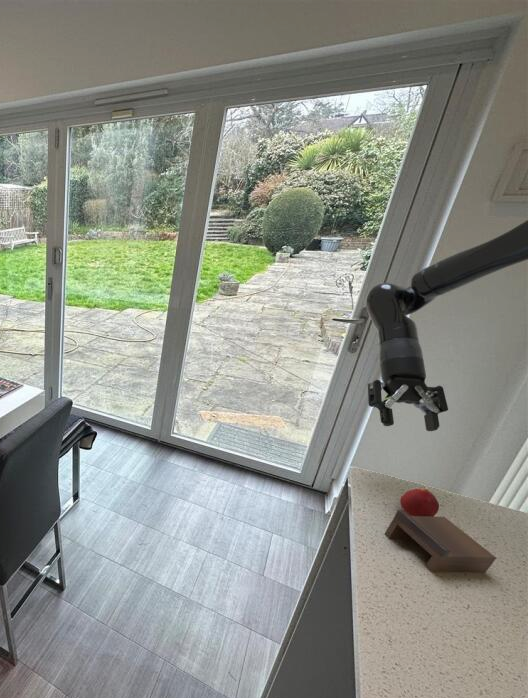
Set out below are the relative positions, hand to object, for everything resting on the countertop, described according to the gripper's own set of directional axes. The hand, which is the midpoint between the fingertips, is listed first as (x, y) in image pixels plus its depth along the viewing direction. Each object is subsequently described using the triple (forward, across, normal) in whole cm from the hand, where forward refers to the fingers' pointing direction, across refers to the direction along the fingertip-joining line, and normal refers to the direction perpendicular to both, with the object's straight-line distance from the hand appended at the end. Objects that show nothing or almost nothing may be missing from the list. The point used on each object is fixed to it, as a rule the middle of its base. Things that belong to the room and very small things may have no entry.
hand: (410, 428), depth 91 cm
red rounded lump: (+19, 0, +3) cm, 20 cm away
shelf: (+27, -3, -4) cm, 27 cm away
